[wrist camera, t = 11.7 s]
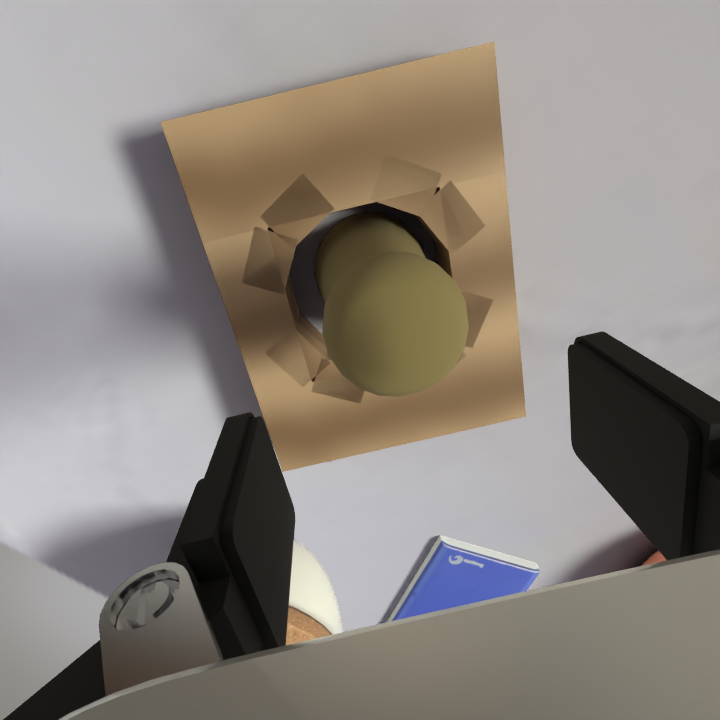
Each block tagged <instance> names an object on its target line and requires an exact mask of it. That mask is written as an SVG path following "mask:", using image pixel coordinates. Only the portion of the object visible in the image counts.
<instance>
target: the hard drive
mask: <svg viewBox="0 0 720 720" xmlns="http://www.w3.org/2000/svg"><path fill="white" fill-rule="evenodd" d="M539 573H540V570H539V568H538V566H537V564H536V563H535V562H532V561H528V560H525V559H521V558H518V557H514V556H511V555H507V554H504V553H500V552H497V551H494V550H490V549H487V548H483V547H480V546H476V545H473V544H469V543H466V542H462V541H459V540H455V539H452V538H448V537H445V536H442V535H440V536H439V537H438V539H437V541H436V542H435V544H434V546H433V547H432V549H431V550H430V552H429V554H428V555H427V557H426V559H425V560H424V562H423V563H422V565H421V567H420V568H419V570H418V572H417V573H416V575H415V576H414V578H413V580H412V581H411V583H410V585H409V586H408V588H407V590H406V591H405V593H404V594H403V596H402V598H401V599H400V601H399V603H398V604H397V606H396V607H395V609H394V611H393V612H392V614H391V616H390V617H389V619H388V621H387V622H391V621H395V620H399V619H404V618H408V617H413V616H417V615H421V614H426V613H430V612H435V611H439V610H444V609H448V608H453V607H457V606H462V605H466V604H471V603H475V602H480V601H484V600H489V599H493V598H498V597H502V596H507V595H511V594H516V593H520V592H525V591H526V590H527V589H528V588H529V586H530V585H531V584H532V582H533V581H534V580H535V578H536V577H537V575H538V574H539Z"/></svg>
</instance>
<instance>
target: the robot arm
mask: <svg viewBox="0 0 720 720" xmlns="http://www.w3.org/2000/svg"><path fill="white" fill-rule="evenodd" d="M568 369H569V394H570V419H571V441H572V446H573V449H574V452H575V454H576V455H577V457H578V458H579V459H580V460H581V461H582V462H583V464H584V465H585V466H586V467H587V468H588V469H589V471H590V472H591V473H592V474H593V475H594V476H595V477H596V479H597V480H598V481H599V482H600V483H601V484H602V486H603V487H604V488H605V489H606V490H607V491H608V493H609V494H610V495H611V496H612V497H613V498H614V499H615V501H616V502H617V503H618V504H619V505H620V506H621V508H622V509H623V510H624V511H625V512H626V513H627V515H628V516H629V517H630V518H631V519H632V520H633V521H634V523H635V524H636V525H637V526H638V527H639V528H640V530H641V531H642V532H643V533H644V534H645V535H646V537H647V538H648V539H649V540H650V541H651V542H652V543H653V545H654V546H655V547H656V548H657V549H658V550H659V552H660V553H661V554H662V555H663V556H664V557H665V559H666V560H667V561H662V562H658V563H653V564H648V565H644V566H639V567H634V568H630V569H625V570H620V571H616V572H611V573H607V574H602V575H597V576H593V577H588V578H584V579H579V580H575V581H570V582H566V583H561V584H556V585H552V586H547V587H543V588H538V589H534V590H529V591H525V592H520V593H516V594H511V595H507V596H502V597H498V598H493V599H489V600H484V601H480V602H475V603H471V604H466V605H462V606H457V607H453V608H448V609H444V610H439V611H435V612H430V613H426V614H421V615H417V616H413V617H408V618H404V619H399V620H395V621H391V622H386V623H382V624H377V625H373V626H369V627H364V628H360V629H355V630H351V631H347V632H342V633H338V634H333V635H329V636H325V637H320V638H316V639H311V640H307V641H303V642H298V643H294V644H289V645H286V635H287V622H288V608H289V595H290V582H291V568H292V555H293V542H294V528H295V512H294V507H293V503H292V500H291V497H290V495H289V492H288V489H287V486H286V483H285V480H284V477H283V475H282V472H281V469H280V466H279V463H278V460H277V457H276V455H275V452H274V449H273V446H272V443H271V440H270V437H269V435H268V432H267V429H266V426H265V423H264V421H263V419H262V417H261V416H259V417H254V415H253V414H252V413H251V412H250V413H246V414H241V415H237V416H232V417H228V418H227V419H226V421H225V423H224V426H223V429H222V431H221V434H220V437H219V439H218V442H217V445H216V447H215V450H214V453H213V455H212V458H211V461H210V464H209V466H208V469H207V472H206V474H205V477H204V479H201V480H199V481H198V483H197V485H196V487H195V489H194V492H193V495H192V497H191V500H190V502H189V505H188V507H187V510H186V513H185V515H184V518H183V520H182V523H181V525H180V528H179V531H178V533H177V536H176V538H175V541H174V544H173V546H172V549H171V551H170V554H169V556H168V559H167V562H164V563H160V564H156V565H152V566H150V567H147V568H145V569H143V570H141V571H139V572H137V573H136V574H134V575H133V576H131V577H130V578H128V579H127V580H126V581H125V582H123V583H122V584H121V585H120V586H119V587H118V588H117V589H116V590H115V591H114V592H113V593H112V595H111V596H110V597H109V599H108V600H107V601H106V603H105V605H104V607H103V609H102V611H101V614H100V620H99V630H100V631H99V632H100V640H99V641H98V642H97V643H96V644H94V645H93V646H92V647H91V648H90V649H88V650H87V651H86V652H85V653H84V654H82V655H81V656H80V657H79V658H77V659H76V660H75V661H74V662H73V663H71V664H70V665H69V666H68V667H67V668H65V669H64V670H63V671H62V672H61V673H59V674H58V675H57V676H56V677H54V678H53V679H52V680H51V681H50V682H48V683H47V684H46V685H45V686H44V687H42V688H41V689H40V690H39V691H37V692H36V693H35V694H34V695H33V696H31V697H30V698H29V699H28V700H27V701H25V702H24V703H23V704H22V705H21V706H19V707H18V708H17V709H16V710H15V711H13V712H12V713H11V714H10V715H8V716H7V717H6V718H5V719H3V720H720V402H719V401H717V400H716V399H714V398H712V397H711V396H709V395H707V394H706V393H704V392H703V391H701V390H699V389H698V388H696V387H694V386H693V385H691V384H689V383H688V382H686V381H684V380H683V379H681V378H679V377H678V376H676V375H674V374H673V373H671V372H670V371H668V370H666V369H665V368H663V367H661V366H660V365H658V364H656V363H655V362H653V361H651V360H650V359H648V358H646V357H645V356H643V355H642V354H640V353H638V352H637V351H635V350H633V349H632V348H630V347H628V346H627V345H625V344H623V343H622V342H620V341H618V340H617V339H615V338H613V337H612V336H610V335H609V334H607V333H605V332H598V333H594V334H589V335H585V336H581V337H577V338H576V339H575V342H574V344H573V345H570V346H569V348H568Z"/></svg>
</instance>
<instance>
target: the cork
mask: <svg viewBox="0 0 720 720" xmlns="http://www.w3.org/2000/svg"><path fill="white" fill-rule="evenodd" d="M315 278H316V282H317V286H318V290H319V292H320V294H321V296H322V298H323V299H324V301H325V303H326V304H325V306H324V318H323V333H322V334H323V337H324V341H325V345H326V349H327V353H328V355H329V357H330V358H331V360H332V361H333V363H334V364H335V366H336V367H337V369H338V370H339V372H340V373H341V374H342V375H343V376H344V377H345V378H346V379H348V380H349V381H350V382H351V383H353V384H354V385H355V386H357V387H358V388H359V389H362V390H365V391H367V392H370V393H373V394H376V395H378V396H393V397H401V396H406V395H410V394H415V393H419V392H422V391H423V390H425V389H427V388H429V387H431V386H433V385H435V384H436V383H438V382H440V381H441V380H442V379H443V378H444V377H445V376H446V375H447V374H448V373H449V372H450V371H451V370H452V369H453V368H454V367H455V365H456V363H457V361H458V360H459V358H460V356H461V354H462V352H463V351H464V349H465V344H466V340H467V335H468V330H469V325H468V317H467V309H466V301H465V299H464V297H463V295H462V293H461V291H460V289H459V287H458V285H457V283H456V281H455V280H454V279H453V278H451V277H450V276H449V275H448V274H447V273H446V272H445V271H444V270H443V269H442V268H441V267H440V266H439V265H438V264H436V263H435V262H433V261H430V260H428V259H426V257H425V254H424V251H423V248H422V246H421V244H420V243H419V241H418V239H417V237H416V235H415V233H414V232H413V231H412V230H411V229H410V228H408V227H407V226H406V225H405V224H404V223H403V222H402V221H400V220H398V219H396V218H394V217H392V216H389V215H387V214H382V213H372V212H366V213H362V214H357V215H353V216H350V217H348V218H346V219H345V220H343V221H341V222H340V223H338V224H336V225H335V226H334V227H333V228H332V229H331V230H330V232H329V233H328V234H327V235H326V236H325V237H324V239H323V240H322V242H321V245H320V247H319V250H318V252H317V255H316V260H315Z"/></svg>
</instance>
